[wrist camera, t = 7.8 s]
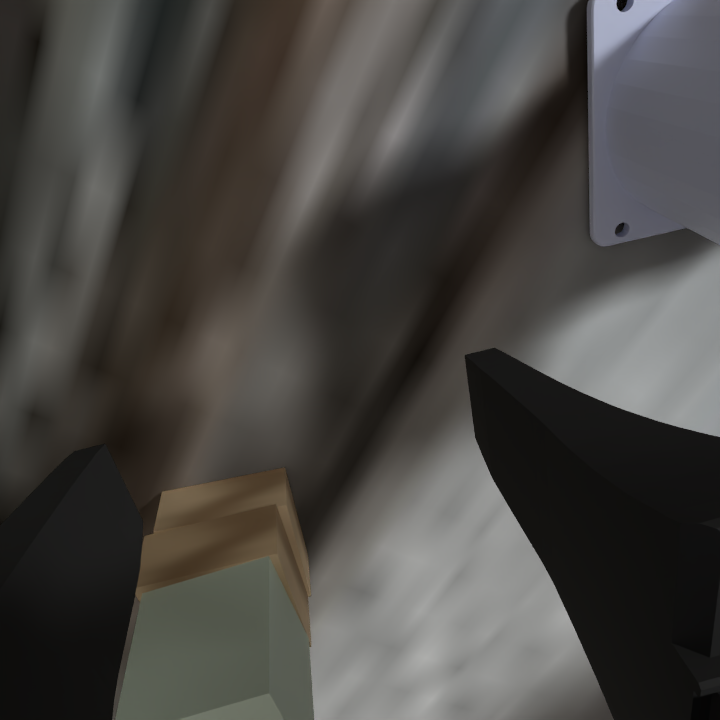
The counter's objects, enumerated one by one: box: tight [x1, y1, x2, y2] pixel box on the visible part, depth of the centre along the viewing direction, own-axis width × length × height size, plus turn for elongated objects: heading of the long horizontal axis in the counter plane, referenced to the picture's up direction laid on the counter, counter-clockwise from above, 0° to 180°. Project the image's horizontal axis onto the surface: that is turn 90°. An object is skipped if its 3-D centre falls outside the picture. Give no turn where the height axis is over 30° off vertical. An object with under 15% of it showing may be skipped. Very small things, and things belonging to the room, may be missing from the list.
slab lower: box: [153, 467, 311, 597], centre depth 26 cm, size 5×5×2 cm
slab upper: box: [135, 504, 311, 647], centre depth 24 cm, size 5×5×2 cm
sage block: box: [115, 556, 314, 720], centre depth 21 cm, size 4×4×5 cm
